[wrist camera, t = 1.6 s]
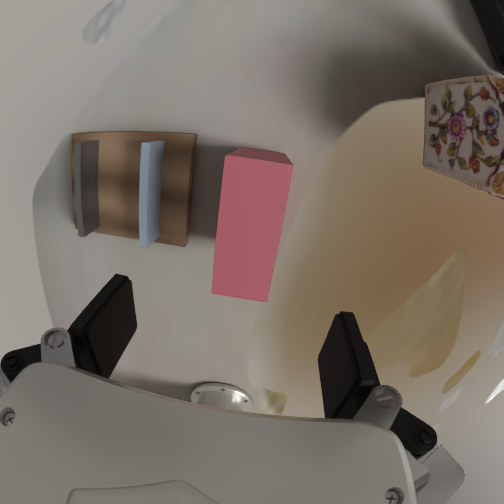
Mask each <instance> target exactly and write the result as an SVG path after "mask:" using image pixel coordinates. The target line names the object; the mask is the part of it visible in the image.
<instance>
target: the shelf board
mask: <svg viewBox="0 0 504 504" xmlns="http://www.w3.org/2000/svg"><path fill="white" fill-rule="evenodd" d="M92 140H99V160H98V196H99V219H100V227H98V228H97V229H95V230H94V231H92V232H97V233H103V234H109V235H115V236H121V237H127V238H133V239H139V184H140V161H141V146H142V142H150V141H164V150H163V163H162V178H161V199H160V236H159V237H158V238H157V239H156V240H155V241H154V242H158V243H164V244H170V245H176V246H182V247H185V246H186V245H187V243H188V237H189V219H190V204H191V191H192V179H193V168H194V158H195V149H196V140H197V134H188V133H170V132H93V133H78V134H73V138H72V194H73V211H74V222H75V229H78V225H77V214H76V199H75V143H79V142H85V141H92ZM139 240H140V239H139Z"/></svg>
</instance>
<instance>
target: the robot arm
mask: <svg viewBox="0 0 504 504" xmlns="http://www.w3.org/2000/svg"><path fill="white" fill-rule="evenodd" d="M136 329H137V321H136V314H135V306H134V298H133V290H132V282H131V280H129V278H128V276H124V275H120V274H115V275H114V276H113V277H112V278H111V280H110V281H109V282H108V283H107V284H106V285H105V286H104V287H103V288H102V289H101V291H100V292H99V293H98V294H97V295H96V296H95V297H94V298H93V300H92V301H91V302H90V303H89V304H88V305H87V307H86V308H85V309H84V310H83V311H82V312H81V314H80V315H79V316H78V317H77V318H76V320H75V321H74V322H73V323H72V324H71V326H70V328H69V329H68V330H65V329H63V328H52V329H50V330H48V331H46V332H45V333H44V334H43V336H42V338H41V344H37V345H33V346H30V347H26V348H22V349H18V350H14V351H11V352H8V353H7V354H5V355H4V357H3V358H2V360H1V365H0V504H446V502H447V501H448V500H449V499H450V498H451V497H452V496H453V494H454V493H455V492H456V491H457V489H458V488H459V487H460V486H461V484H462V483H463V481H464V477H465V474H464V470H463V469H462V467H461V466H460V465H459V464H458V463H457V461H456V460H455V459H454V458H453V457H452V456H451V455H450V454H449V453H448V451H447V450H446V449H445V448H444V447H443V446H442V445H440V446H438V445H437V435H436V432H435V430H434V429H433V428H432V427H431V426H429V425H427V424H426V423H425V422H423V421H421V420H420V419H418V418H417V417H415V416H414V415H412V414H411V413H409V412H408V411H406V410H405V409H403V408H402V407H401V405H402V397H401V395H400V393H399V392H398V391H397V390H396V389H394V388H393V387H391V386H388V385H380V382H379V379H378V376H377V373H376V370H375V366H374V363H373V360H372V357H371V354H370V352H369V349H368V346H367V344H366V342H364V341H363V338H362V335H361V333H360V330H359V327H358V324H357V321H356V319H355V316H354V314H353V313H352V312H343V311H341V312H340V313H339V314H336V315H335V317H334V320H333V322H332V325H331V327H330V330H329V332H328V335H327V337H326V339H325V342H324V344H323V347H322V349H321V351H320V353H319V356H318V366H319V373H320V381H321V388H322V396H323V405H324V413H325V418H307V417H292V416H279V415H269V414H259V413H251V412H250V411H251V409H252V400H251V398H250V397H249V395H248V394H247V393H245V392H244V391H242V390H241V389H239V388H236V387H234V386H231V385H227V384H221V383H207V384H202V385H199V386H197V387H196V388H194V389H193V391H192V393H191V401H192V402H188V401H183V400H179V399H175V398H171V397H167V396H163V395H159V394H155V393H152V392H148V391H145V390H141V389H138V388H135V387H131V386H128V385H125V384H122V383H119V382H116V381H113V380H110V379H109V377H110V375H111V374H112V372H113V370H114V368H115V366H116V364H117V363H118V361H119V359H120V357H121V356H122V354H123V352H124V350H125V348H126V347H127V345H128V343H129V342H130V340H131V338H132V336H133V335H134V333H135V331H136Z"/></svg>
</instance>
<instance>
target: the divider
mask: <svg viewBox="0 0 504 504" xmlns="http://www.w3.org/2000/svg"><path fill="white" fill-rule="evenodd" d="M163 150H164V141H150V142H142V146H141V161H140V184H139V239H140V247H142V248H148V247H149V246H150V245H151V244H152V243H153V242H154V241H155V240H156V239H157V238H158V237H159V236H160V199H161V178H162V163H163Z"/></svg>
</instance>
